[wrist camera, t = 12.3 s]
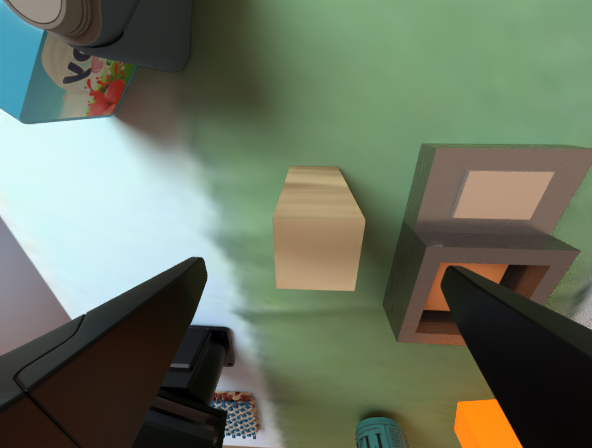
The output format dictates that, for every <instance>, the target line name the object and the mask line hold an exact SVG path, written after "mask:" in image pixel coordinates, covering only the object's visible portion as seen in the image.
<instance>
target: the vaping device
mask: <svg viewBox="0 0 592 448" xmlns="http://www.w3.org/2000/svg"><path fill="white" fill-rule="evenodd" d="M3 1H4V2H5V3H6V4H7V6H8V7H9V8H10V9H11V10H12V11H13V12H14V13H15V14H16V15H17V16H18V17H19V18H21V19H22V20H23V21H25V22H27V23H28V24H30V25H32V26H34V27H37V28H40V29H44V30H46V31H47V32H48V33H50V34H51V35H52V36H54V37H55V38H57V39H59V40H61V41H63V42H65V43H67V44H68V45H69V46H71V47H72V48H74V49H77V50H79V51H81V52H83V53H85V54H87V55H90V56H95V57H100V58H104V59H109V60H114V61H118V62H123V63H128V64H132V65H137V66H142V67H146V68H151V69H156V70H160V71H165V72H174V71H178V70H179V69H181V68H182V67H184V66H185V65H186V64H187V62H188V60H189V53H190V36H191V19H192V3H193V0H3Z"/></svg>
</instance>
